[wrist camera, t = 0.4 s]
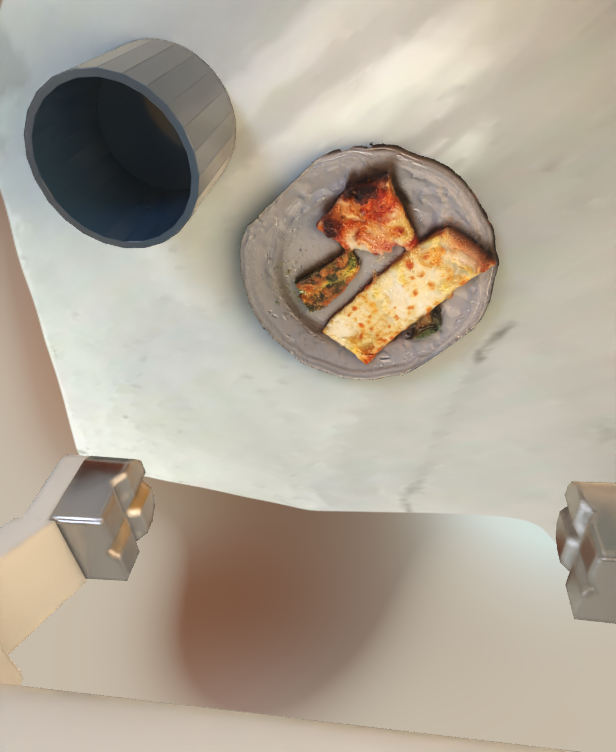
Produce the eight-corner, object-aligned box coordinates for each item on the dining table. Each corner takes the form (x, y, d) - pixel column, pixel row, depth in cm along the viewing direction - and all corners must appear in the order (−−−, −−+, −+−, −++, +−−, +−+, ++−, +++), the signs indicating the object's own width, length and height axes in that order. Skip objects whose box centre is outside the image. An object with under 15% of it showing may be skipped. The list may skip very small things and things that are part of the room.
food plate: (388, 82, 47) (387, 92, 45) (543, 272, 56) (550, 291, 53) (205, 262, 60) (195, 278, 58) (353, 394, 69) (351, 414, 66)
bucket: (73, 43, 49) (-5, 72, 40) (223, 33, 47) (177, 62, 38) (116, 194, 57) (59, 248, 48) (245, 192, 55) (212, 247, 46)
